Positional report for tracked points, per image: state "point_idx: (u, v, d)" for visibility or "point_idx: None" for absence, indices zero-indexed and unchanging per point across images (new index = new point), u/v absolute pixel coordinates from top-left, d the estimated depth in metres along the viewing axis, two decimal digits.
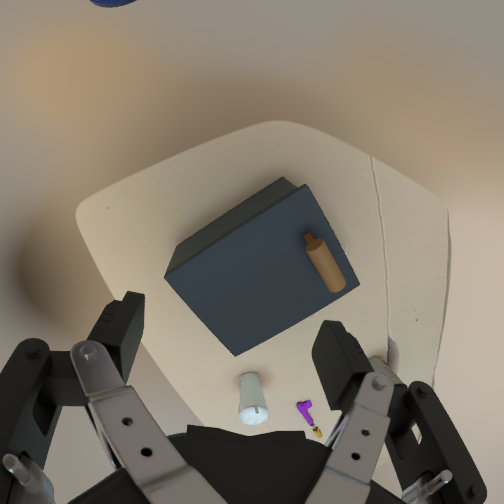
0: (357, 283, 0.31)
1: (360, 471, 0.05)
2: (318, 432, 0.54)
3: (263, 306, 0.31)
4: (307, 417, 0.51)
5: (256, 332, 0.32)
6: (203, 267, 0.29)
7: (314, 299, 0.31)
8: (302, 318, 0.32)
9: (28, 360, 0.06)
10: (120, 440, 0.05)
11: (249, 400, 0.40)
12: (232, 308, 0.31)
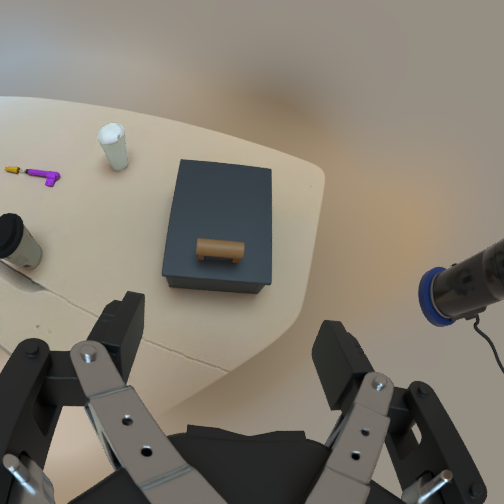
0: (165, 272, 0.33)
1: (360, 471, 0.05)
2: (13, 169, 0.42)
3: (205, 201, 0.37)
4: (39, 172, 0.43)
5: (188, 183, 0.38)
6: (261, 191, 0.39)
7: (180, 234, 0.35)
8: (171, 217, 0.36)
9: (28, 360, 0.06)
10: (120, 440, 0.05)
11: (122, 142, 0.41)
12: (220, 184, 0.39)
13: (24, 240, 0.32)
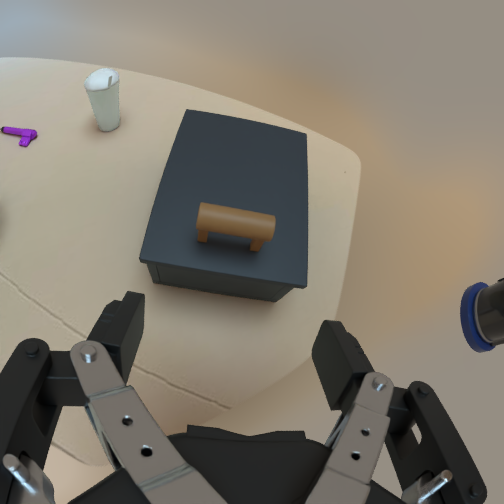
0: (144, 256, 0.21)
1: (360, 471, 0.05)
2: None
3: (215, 161, 0.25)
4: (15, 129, 0.31)
5: (193, 137, 0.26)
6: (294, 157, 0.27)
7: (173, 201, 0.23)
8: (164, 177, 0.24)
9: (28, 360, 0.06)
10: (120, 440, 0.05)
11: (114, 91, 0.29)
12: (238, 142, 0.27)
13: None
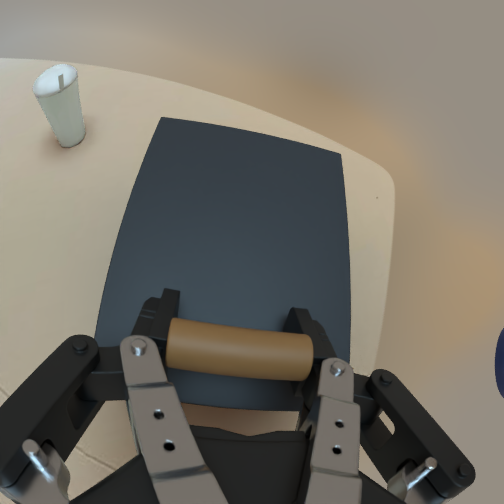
0: None
1: (346, 464, 0.05)
2: None
3: (203, 205, 0.16)
4: None
5: (169, 164, 0.16)
6: (326, 194, 0.18)
7: (135, 284, 0.13)
8: (120, 238, 0.14)
9: (74, 355, 0.07)
10: (146, 431, 0.05)
11: (71, 95, 0.20)
12: (240, 171, 0.17)
13: None
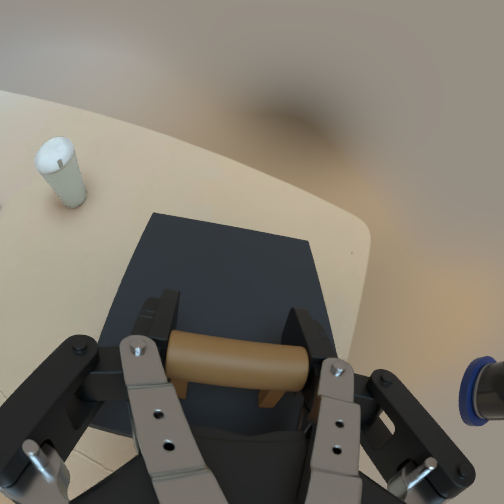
0: None
1: (346, 464, 0.05)
2: None
3: (192, 277, 0.18)
4: None
5: (161, 246, 0.19)
6: (299, 270, 0.21)
7: None
8: (118, 297, 0.15)
9: (74, 355, 0.07)
10: (146, 431, 0.05)
11: (70, 170, 0.24)
12: (222, 254, 0.20)
13: None
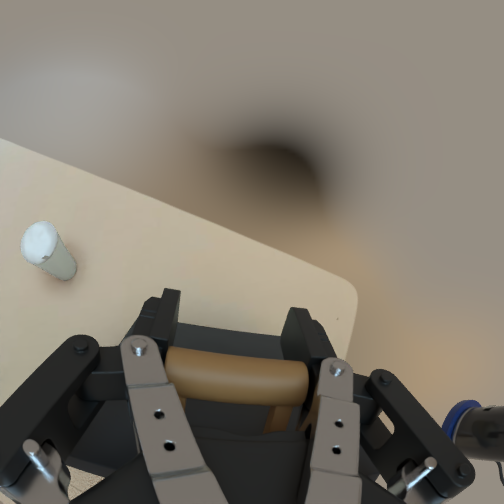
0: None
1: (346, 464, 0.05)
2: None
3: None
4: None
5: None
6: None
7: None
8: None
9: (75, 355, 0.07)
10: (147, 431, 0.05)
11: (57, 256, 0.25)
12: (208, 344, 0.20)
13: None
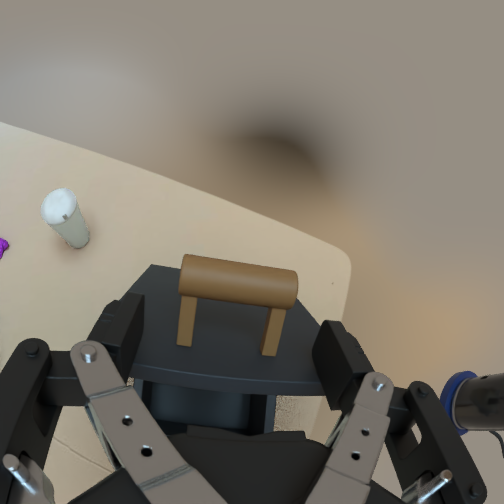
0: None
1: (360, 471, 0.05)
2: None
3: None
4: None
5: (161, 278, 0.23)
6: None
7: None
8: None
9: (28, 360, 0.06)
10: (120, 440, 0.05)
11: (74, 219, 0.28)
12: None
13: None
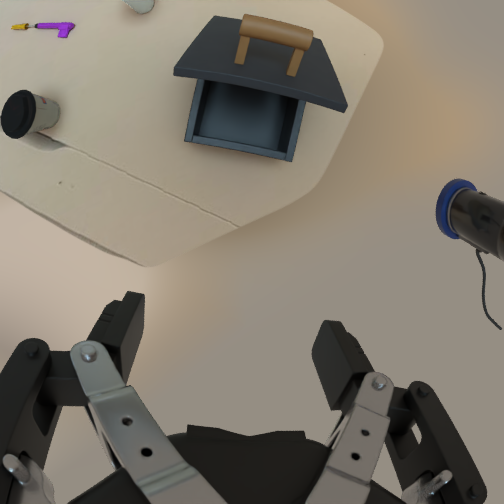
0: (180, 66, 0.17)
1: (360, 471, 0.05)
2: (21, 27, 0.26)
3: None
4: (50, 25, 0.27)
5: (223, 25, 0.24)
6: (313, 46, 0.25)
7: (209, 46, 0.20)
8: (199, 36, 0.21)
9: (28, 360, 0.06)
10: (120, 440, 0.05)
11: None
12: None
13: (38, 113, 0.28)
